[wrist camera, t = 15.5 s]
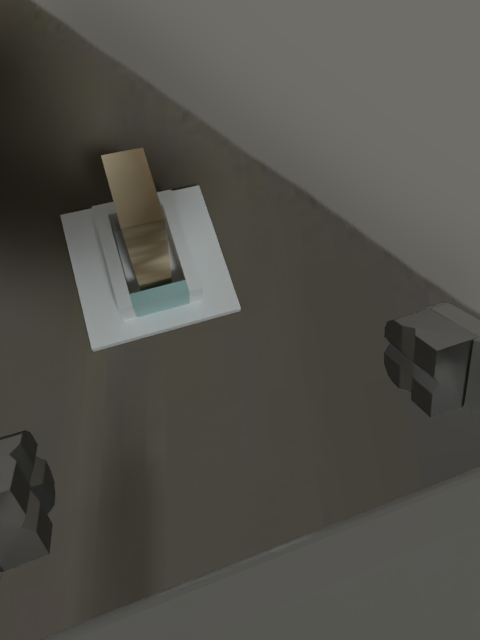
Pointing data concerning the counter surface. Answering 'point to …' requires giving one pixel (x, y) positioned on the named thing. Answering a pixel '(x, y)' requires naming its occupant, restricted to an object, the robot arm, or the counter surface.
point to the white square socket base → (120, 279)
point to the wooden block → (139, 216)
